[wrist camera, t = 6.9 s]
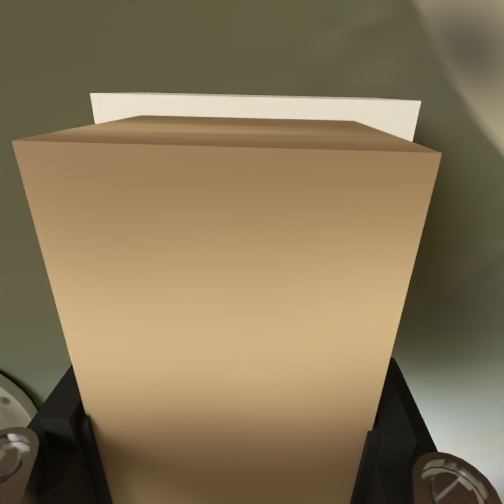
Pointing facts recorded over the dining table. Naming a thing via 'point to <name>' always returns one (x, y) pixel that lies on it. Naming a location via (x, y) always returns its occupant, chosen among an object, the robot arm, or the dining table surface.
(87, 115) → the dining table surface
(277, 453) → the tan brown rectangular block
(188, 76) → the dining table surface
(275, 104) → the white recessed tray
